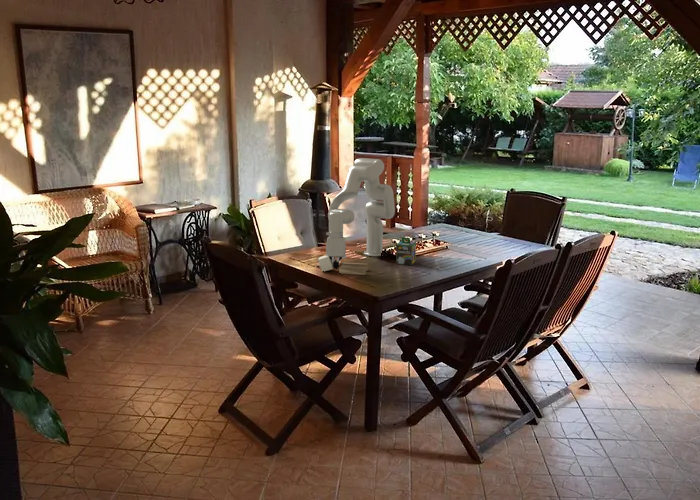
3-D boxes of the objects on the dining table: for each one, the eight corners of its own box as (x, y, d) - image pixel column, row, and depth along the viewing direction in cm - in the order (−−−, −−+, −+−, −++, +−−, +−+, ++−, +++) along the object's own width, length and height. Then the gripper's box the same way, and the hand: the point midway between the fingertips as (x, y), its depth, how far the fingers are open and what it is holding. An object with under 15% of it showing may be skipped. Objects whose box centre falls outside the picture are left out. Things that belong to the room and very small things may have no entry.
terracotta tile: (320, 261, 368) (320, 259, 368) (341, 262, 367) (341, 260, 366) (315, 267, 357) (315, 265, 357) (337, 267, 355) (337, 266, 355)
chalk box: (415, 261, 369) (416, 236, 366) (411, 265, 361) (412, 239, 357) (400, 260, 372) (400, 234, 369) (395, 264, 364) (396, 238, 360)
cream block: (323, 269, 352) (319, 257, 351) (334, 265, 351) (329, 253, 350) (322, 272, 347) (317, 259, 345) (332, 268, 346) (328, 256, 344)
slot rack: (342, 268, 353) (342, 262, 352) (367, 270, 351) (368, 263, 350) (339, 273, 344) (339, 267, 343) (365, 274, 342) (365, 268, 341)
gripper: (320, 235, 342) (320, 269, 346) (348, 236, 339) (348, 270, 343) (323, 233, 349) (323, 266, 353) (351, 234, 347) (350, 267, 351)
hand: (336, 268), depth 348 cm, fingers closed
